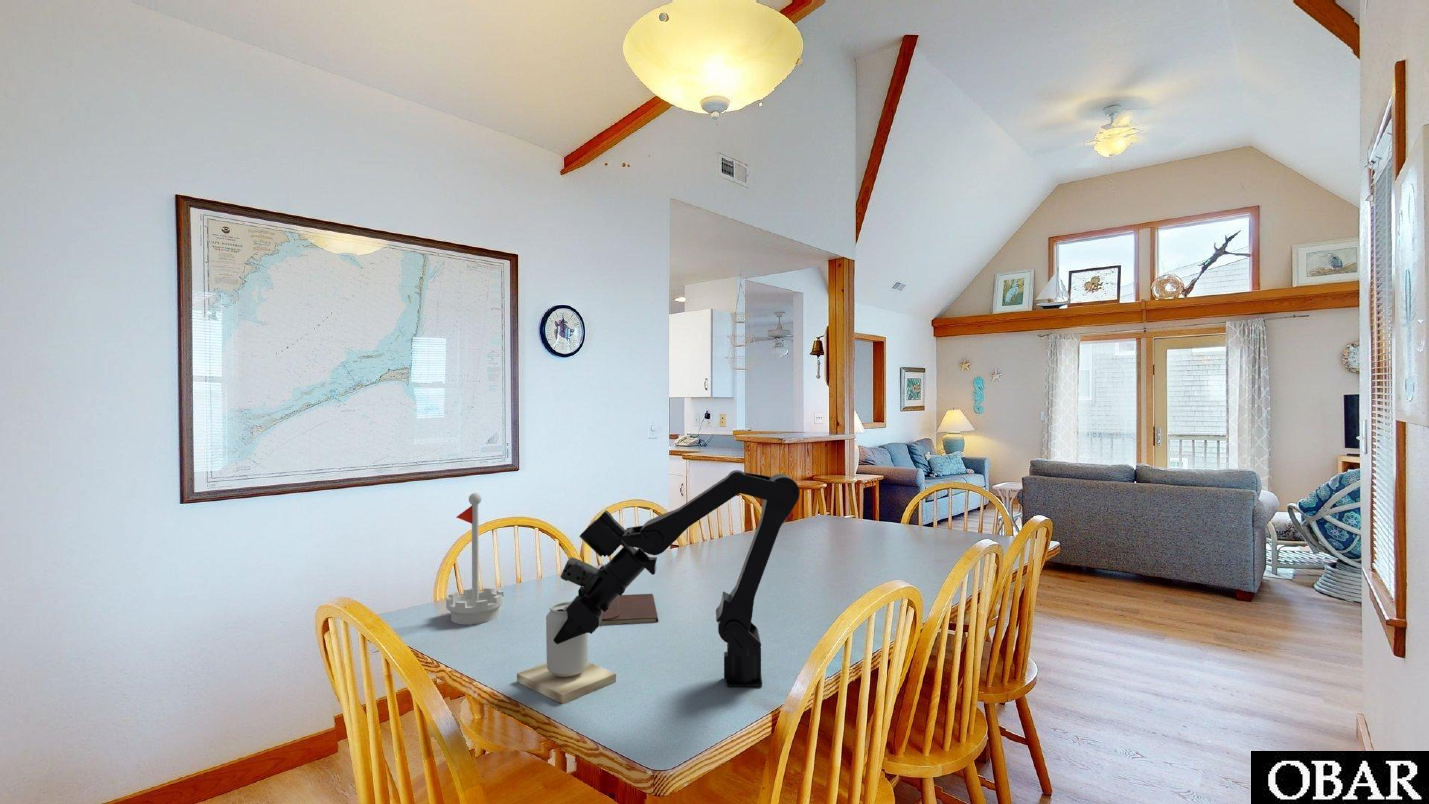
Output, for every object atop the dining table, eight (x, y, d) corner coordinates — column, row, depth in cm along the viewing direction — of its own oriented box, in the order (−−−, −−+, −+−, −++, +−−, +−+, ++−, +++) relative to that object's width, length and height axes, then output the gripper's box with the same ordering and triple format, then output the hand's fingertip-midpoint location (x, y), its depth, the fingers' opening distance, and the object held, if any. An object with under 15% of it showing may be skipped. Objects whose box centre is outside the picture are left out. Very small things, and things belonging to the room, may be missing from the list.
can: (538, 675, 121) (537, 609, 121) (561, 660, 128) (561, 598, 128) (573, 680, 118) (573, 613, 118) (595, 665, 126) (594, 601, 125)
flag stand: (481, 605, 170) (481, 488, 170) (514, 614, 163) (514, 491, 162) (435, 619, 159) (434, 494, 159) (468, 629, 152) (468, 498, 152)
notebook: (653, 599, 176) (653, 592, 176) (658, 624, 157) (658, 615, 157) (595, 602, 174) (595, 594, 174) (593, 627, 154) (593, 619, 154)
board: (516, 681, 123) (516, 673, 123) (569, 662, 132) (569, 654, 132) (562, 703, 114) (562, 695, 114) (616, 681, 123) (616, 673, 123)
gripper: (595, 533, 133) (540, 590, 133) (577, 555, 114) (514, 621, 114) (635, 572, 133) (580, 628, 133) (624, 600, 114) (561, 666, 114)
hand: (559, 634), depth 123 cm, fingers closed on can, 7 cm apart
